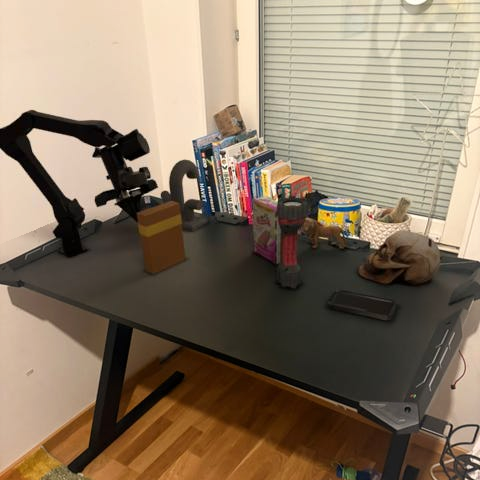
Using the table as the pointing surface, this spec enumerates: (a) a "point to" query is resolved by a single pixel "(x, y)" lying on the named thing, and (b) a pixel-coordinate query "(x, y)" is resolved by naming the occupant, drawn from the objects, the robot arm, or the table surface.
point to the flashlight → (290, 238)
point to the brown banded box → (161, 236)
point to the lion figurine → (322, 232)
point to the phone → (362, 304)
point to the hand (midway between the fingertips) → (139, 222)
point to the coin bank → (403, 259)
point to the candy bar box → (266, 228)
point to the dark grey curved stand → (177, 194)
